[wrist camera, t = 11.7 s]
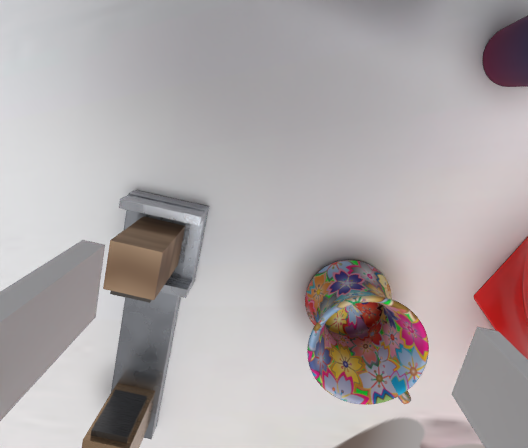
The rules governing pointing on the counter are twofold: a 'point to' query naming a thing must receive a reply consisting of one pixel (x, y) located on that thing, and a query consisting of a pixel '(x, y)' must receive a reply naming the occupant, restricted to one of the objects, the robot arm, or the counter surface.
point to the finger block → (143, 258)
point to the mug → (362, 336)
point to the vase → (509, 299)
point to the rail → (147, 331)
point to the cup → (508, 55)
